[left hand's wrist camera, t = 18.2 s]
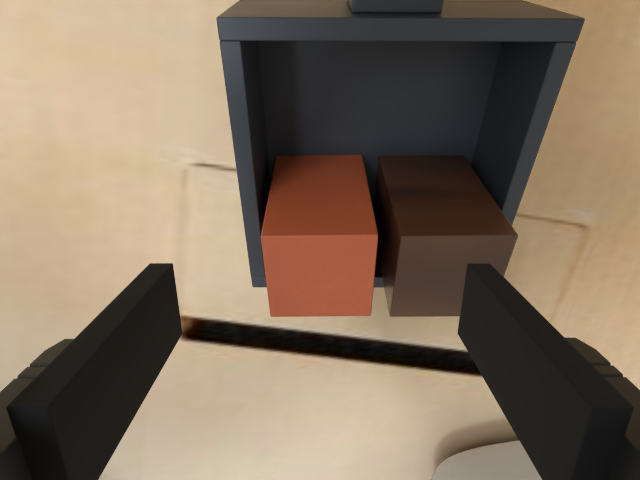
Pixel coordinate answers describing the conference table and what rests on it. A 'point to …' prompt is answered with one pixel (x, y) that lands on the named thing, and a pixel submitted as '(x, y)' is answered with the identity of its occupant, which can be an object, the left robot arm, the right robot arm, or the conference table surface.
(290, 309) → the terracotta block
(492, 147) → the box
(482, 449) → the projector
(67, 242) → the conference table surface
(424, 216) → the walnut block
